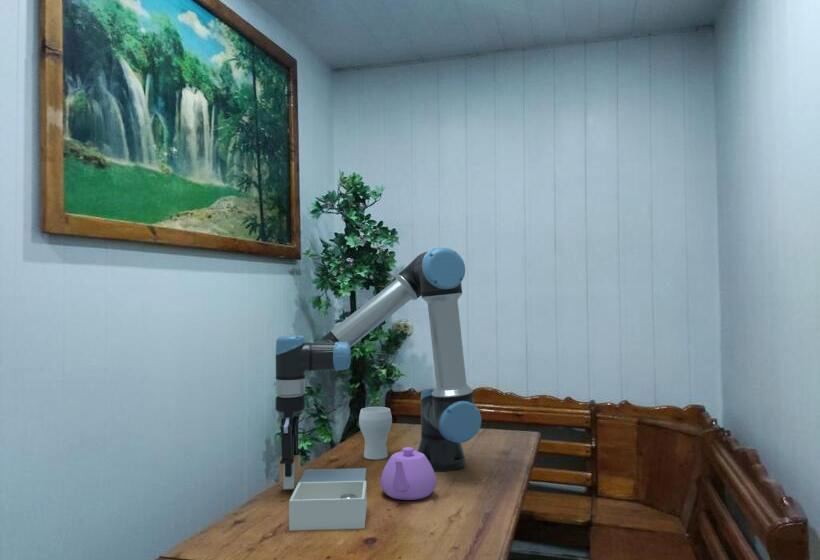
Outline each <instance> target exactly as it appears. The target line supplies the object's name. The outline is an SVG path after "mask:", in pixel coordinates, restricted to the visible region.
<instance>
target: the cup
mask: <svg viewBox="0 0 820 560" xmlns="http://www.w3.org/2000/svg"><path fill="white" fill-rule="evenodd" d="M392 424H393V417H392V412H391V408H389V407H384V406H369V407H364V408H361V409H360V412H359V417H358V425H359V428H360V432H361V434H362V435H363V438H364V450H363V451H364V452H363V458H365V459H367V460H383V459H386V458H388V457H389V453H388V448H387V440H388V435H389V433H390V431H391V428H392Z"/></svg>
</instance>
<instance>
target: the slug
mask: <svg viewBox="0 0 820 560" xmlns="http://www.w3.org/2000/svg"><path fill="white" fill-rule="evenodd" d="M340 498H356V495H354V494H344V495H342V496H341V497H340Z"/></svg>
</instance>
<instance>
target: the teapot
mask: <svg viewBox="0 0 820 560" xmlns="http://www.w3.org/2000/svg"><path fill="white" fill-rule="evenodd" d="M380 487H381V490H382V491H383V492H384V493H385V494H386V495H387V496H388V497H390V498H391V499H395V500H400V501H401V500H402V501H414V500H422V499H425V498H426V497H429V496H430V495H431V494H432V493H433V492H434V490H435V489H436V487H437V477H436V473H435V471H434V470H433V468H432V466H431V464H430V462H429V461H428V459H427V458H426V456H425V455H424V454H423V453H421V452H418V449H415V448H413V447H410V446H408V447H407V446H405V447H403V448H402V450H401V451H397V452H395V453H393V454H392V455H391V456H390V457H389V459H388V461H387V462H386V464H385V466H384V468H383V471H382V474H381V478H380Z"/></svg>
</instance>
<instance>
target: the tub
mask: <svg viewBox="0 0 820 560" xmlns="http://www.w3.org/2000/svg"><path fill="white" fill-rule="evenodd" d="M367 483H368V482H367V480H365V481H336V482H297V484H296V487H294V489H293V492H292V495H291V496H290V498H289V502H288V529H289V531H290V532H292V531H293V532H294V531H321V530H323V531H325V530H328V531H329V530H359V529H363V530H364V529H365V525H366V518H367V517H366V515H367V507H368V505H367V502H368V501H367V493H368V490H367V488H368V487H367ZM344 494H354V495H356V498H340V497H341V496H342V495H344Z"/></svg>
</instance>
